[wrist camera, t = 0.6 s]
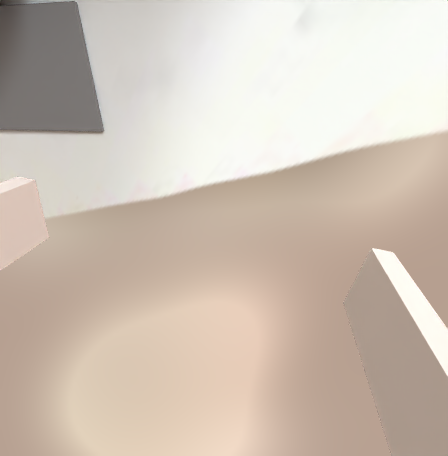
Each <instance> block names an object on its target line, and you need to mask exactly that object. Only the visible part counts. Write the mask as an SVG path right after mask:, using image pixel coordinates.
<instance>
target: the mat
mask: <svg viewBox="0 0 448 456" xmlns="http://www.w3.org/2000/svg"><path fill="white" fill-rule="evenodd" d="M0 129H3V130H55V131H104V129H103V124H102V119H101V115H100V110H99V105H98V100H97V96H96V91H95V86H94V82H93V77H92V72H91V68H90V63H89V58H88V53H87V49H86V44H85V39H84V35H83V30H82V25H81V20H80V16H79V11H78V6H77V2H74V1H69V2H54V3H39V4H24V5H8V6H0Z"/></svg>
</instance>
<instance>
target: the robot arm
mask: <svg viewBox="0 0 448 456" xmlns="http://www.w3.org/2000/svg"><path fill="white" fill-rule="evenodd" d="M48 238H49V235H48V231H47V227H46V222H45V218H44V214H43V210H42V206H41V202H40V198H39V194H38V190H37V185H36V181H35V180H33V179H28V178H23V177H18V176H17V177H15V178H12V179H9V180H6V181H3V182H1V183H0V271H1V270H2V269H4V268H5V267H7V266H8V265H9V264H11V263H13V262H14V261H16V260H17V259H18V258H20V257H22V256H23V255H24V254H26V253H27V252H29V251H30V250H32V249H33V248H35V247H36V246H38V245H39V244H41V243H42V242H44V241H45V240H47V239H48ZM343 304H344V307H345V310H346V313H347V317H348V319H349V323H350V326H351V329H352V332H353V335H354V339H355V342H356V345H357V348H358V351H359V355H360V358H361V361H362V364H363V367H364V371H365V373H366V377H367V380H368V383H369V386H370V389H371V393H372V396H373V399H374V402H375V405H376V408H377V412H378V415H379V418H380V421H381V424H382V428H383V431H384V434H385V437H386V440H387V444H388V447H389V450H390V453H391V456H448V329H447V327H446V326H445V325H444V323H443V322H442V320H441V319H440V318H439V316H438V315H437V313H436V312H435V311H434V309H433V308H432V306H431V305H430V304H429V302H428V301H427V299H426V298H425V297H424V295H423V294H422V292H421V291H420V289H419V288H418V287H417V285H416V284H415V282H414V281H413V280H412V278H411V277H410V275H409V274H408V273H407V271H406V270H405V269H404V267H403V265H402V264H401V263H400V261H399V260H398V258H397V257H396V256H395V254H394V253H393V252H389V251H384V250H379V249H373V248H371V249H370V251H369V253H368V255H367V257H366V259H365V261H364V263H363V265H362V267H361V269H360V271H359V273H358V275H357V277H356V279H355V281H354V282H353V285H352V286H351V288H350V290H349V292H348V294H347V296H346V298H345V300H344V302H343Z"/></svg>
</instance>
